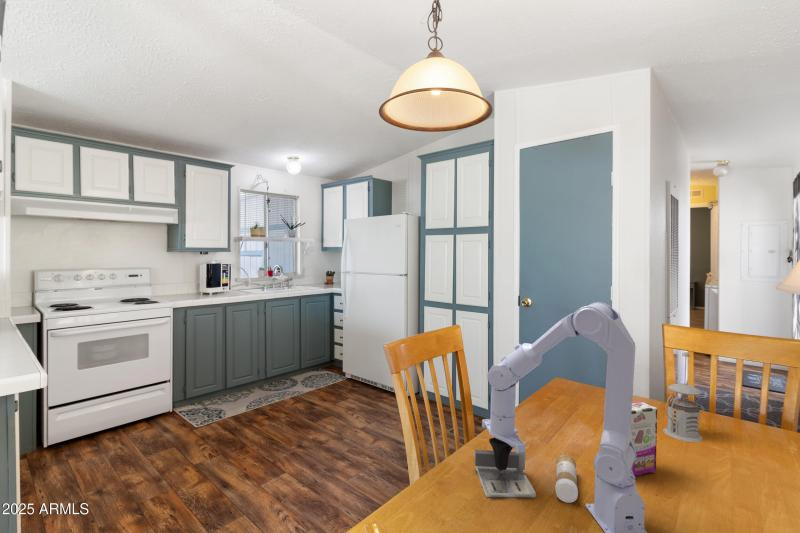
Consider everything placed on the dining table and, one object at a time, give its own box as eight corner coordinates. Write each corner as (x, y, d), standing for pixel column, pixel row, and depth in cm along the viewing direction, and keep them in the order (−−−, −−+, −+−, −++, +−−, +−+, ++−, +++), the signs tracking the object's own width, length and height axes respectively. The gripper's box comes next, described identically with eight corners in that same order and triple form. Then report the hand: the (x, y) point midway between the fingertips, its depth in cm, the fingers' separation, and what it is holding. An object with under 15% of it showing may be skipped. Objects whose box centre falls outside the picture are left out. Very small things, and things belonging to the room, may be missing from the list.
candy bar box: (639, 462, 105) (642, 400, 104) (656, 473, 100) (659, 408, 99) (603, 468, 102) (606, 404, 101) (619, 479, 97) (622, 412, 96)
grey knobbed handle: (525, 470, 98) (526, 451, 97) (475, 467, 99) (475, 448, 98) (523, 465, 100) (524, 446, 100) (474, 463, 101) (474, 444, 101)
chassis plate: (536, 498, 89) (536, 493, 89) (486, 498, 89) (486, 492, 89) (519, 468, 101) (519, 463, 101) (475, 467, 101) (475, 462, 101)
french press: (710, 438, 119) (714, 354, 117) (684, 445, 114) (688, 358, 113) (677, 425, 128) (680, 347, 127) (651, 430, 123) (654, 350, 122)
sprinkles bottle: (563, 474, 100) (563, 506, 88) (552, 458, 101) (550, 487, 88) (580, 467, 99) (582, 499, 86) (568, 450, 99) (569, 479, 87)
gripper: (536, 422, 91) (534, 481, 92) (498, 400, 105) (497, 451, 105) (510, 427, 89) (509, 487, 89) (475, 403, 102) (474, 456, 103)
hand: (501, 468), depth 97 cm, fingers closed, pressing on grey knobbed handle
